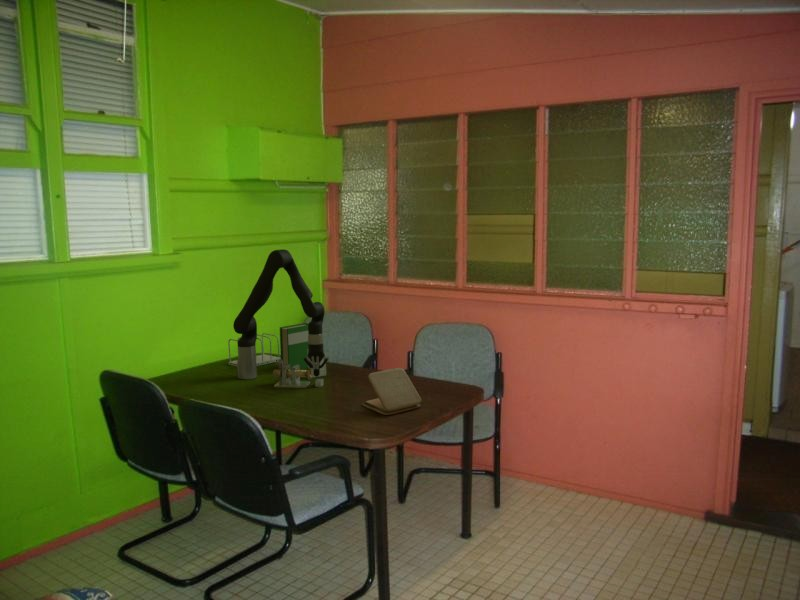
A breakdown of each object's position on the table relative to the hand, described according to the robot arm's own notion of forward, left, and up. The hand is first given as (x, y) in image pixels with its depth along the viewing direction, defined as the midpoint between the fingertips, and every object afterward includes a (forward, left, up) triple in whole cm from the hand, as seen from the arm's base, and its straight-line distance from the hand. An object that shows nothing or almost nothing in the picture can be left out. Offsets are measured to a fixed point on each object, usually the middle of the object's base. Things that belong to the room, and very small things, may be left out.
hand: (316, 376), depth 327 cm
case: (+42, -31, -5) cm, 53 cm away
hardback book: (-20, +35, -5) cm, 40 cm away
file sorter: (-49, +45, -5) cm, 67 cm away
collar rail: (-9, 0, -5) cm, 10 cm away
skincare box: (-5, +19, -5) cm, 20 cm away
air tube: (-12, 0, -2) cm, 13 cm away
